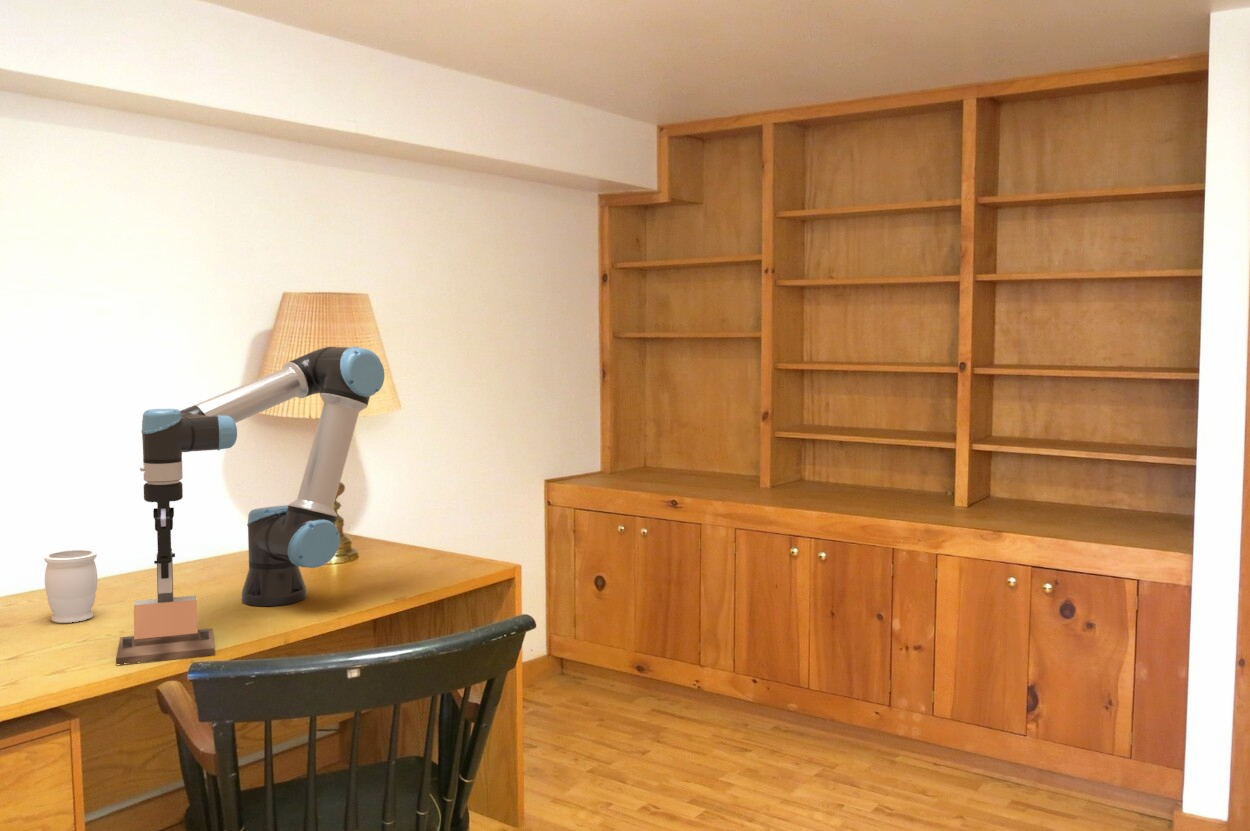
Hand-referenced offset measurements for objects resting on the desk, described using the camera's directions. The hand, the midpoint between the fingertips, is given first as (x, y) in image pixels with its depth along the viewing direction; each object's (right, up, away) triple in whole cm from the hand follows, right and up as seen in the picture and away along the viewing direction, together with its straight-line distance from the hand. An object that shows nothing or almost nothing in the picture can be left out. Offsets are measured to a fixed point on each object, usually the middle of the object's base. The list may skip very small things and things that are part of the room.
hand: (165, 590), depth 217 cm
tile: (+2, -6, -5) cm, 8 cm away
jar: (-28, -9, +15) cm, 34 cm away
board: (+3, -11, -6) cm, 13 cm away
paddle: (0, -5, 0) cm, 5 cm away
